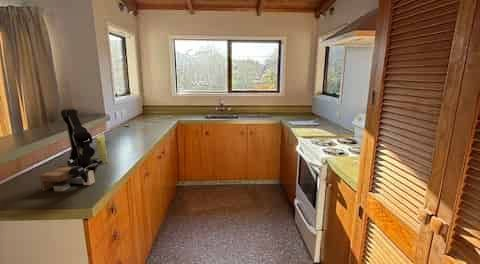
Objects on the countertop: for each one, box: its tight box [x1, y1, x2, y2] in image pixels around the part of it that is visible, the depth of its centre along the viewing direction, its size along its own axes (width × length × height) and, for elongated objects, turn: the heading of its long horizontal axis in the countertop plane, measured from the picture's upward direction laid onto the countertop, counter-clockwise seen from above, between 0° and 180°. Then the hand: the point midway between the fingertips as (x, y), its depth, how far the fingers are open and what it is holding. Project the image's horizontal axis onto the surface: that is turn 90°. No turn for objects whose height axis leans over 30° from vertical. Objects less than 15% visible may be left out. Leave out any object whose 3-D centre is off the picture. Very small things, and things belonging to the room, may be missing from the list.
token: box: [52, 181, 71, 192], centre depth 139 cm, size 5×5×3 cm
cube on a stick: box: [64, 169, 96, 186], centre depth 145 cm, size 4×16×7 cm, turn 82°
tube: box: [94, 133, 109, 164], centre depth 177 cm, size 6×5×20 cm
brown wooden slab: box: [39, 165, 81, 192], centre depth 143 cm, size 14×12×8 cm
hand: (88, 180), depth 145 cm, fingers closed on cube on a stick, 4 cm apart
